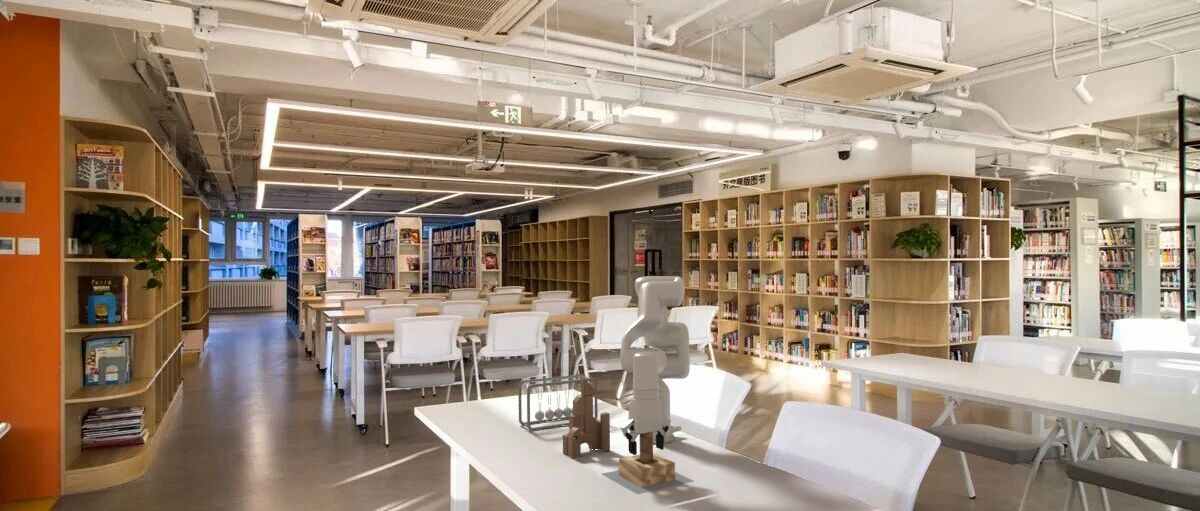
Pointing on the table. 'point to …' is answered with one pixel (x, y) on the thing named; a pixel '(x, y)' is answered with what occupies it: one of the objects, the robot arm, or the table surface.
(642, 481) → the square-hole wood block
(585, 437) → the wooden toy
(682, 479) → the slate mat
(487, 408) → the table surface
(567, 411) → the newton's cradle
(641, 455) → the walnut dowel
